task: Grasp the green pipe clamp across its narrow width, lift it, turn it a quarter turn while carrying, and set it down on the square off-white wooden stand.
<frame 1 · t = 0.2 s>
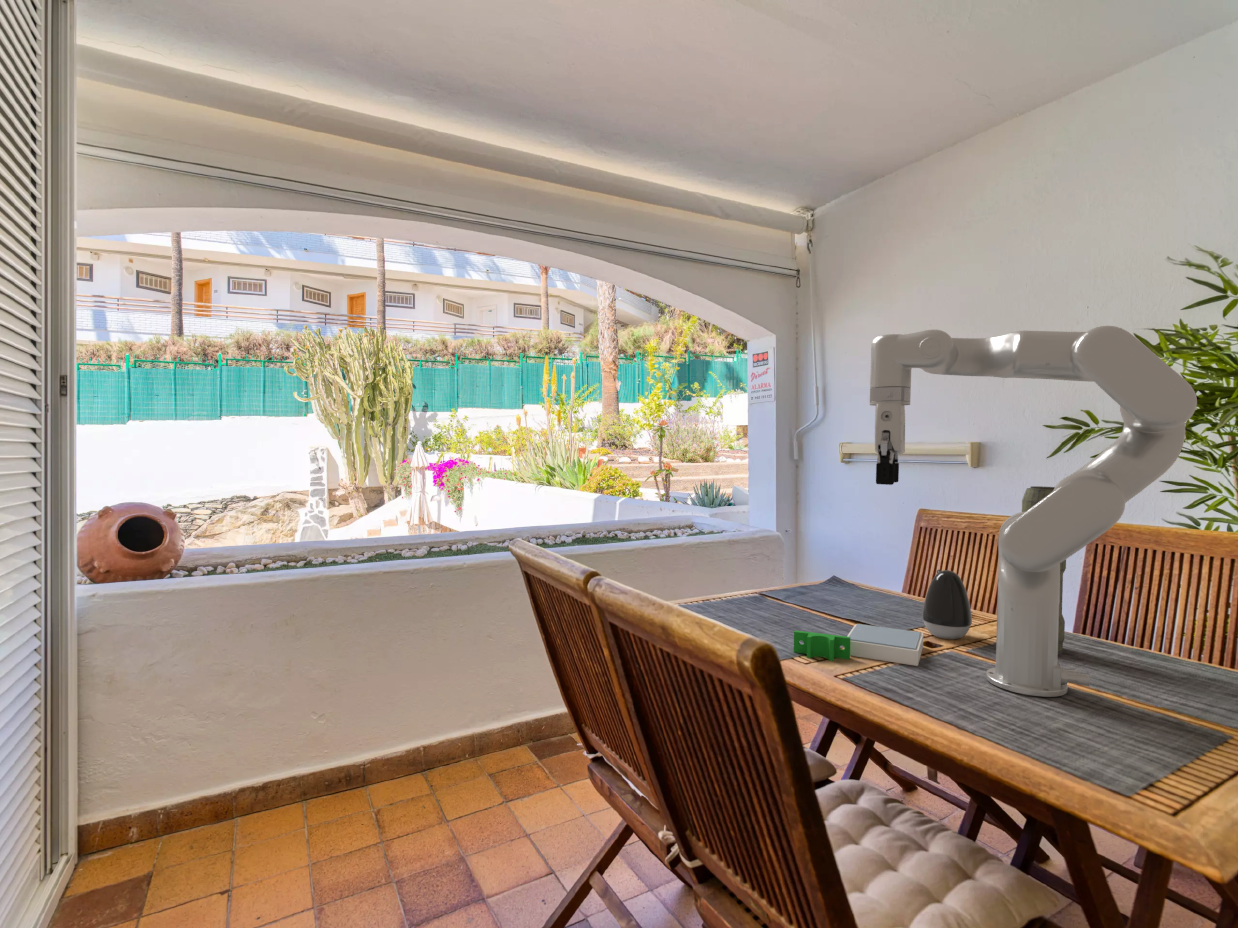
hand: (887, 483, 129), 36 cm above the table, tool pointing down, fingers open, 9 cm apart
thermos: (1039, 649, 139), on the table
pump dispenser: (946, 636, 148), on the table
stand: (884, 650, 137), on the table
pipe clamp: (820, 658, 133), on the table
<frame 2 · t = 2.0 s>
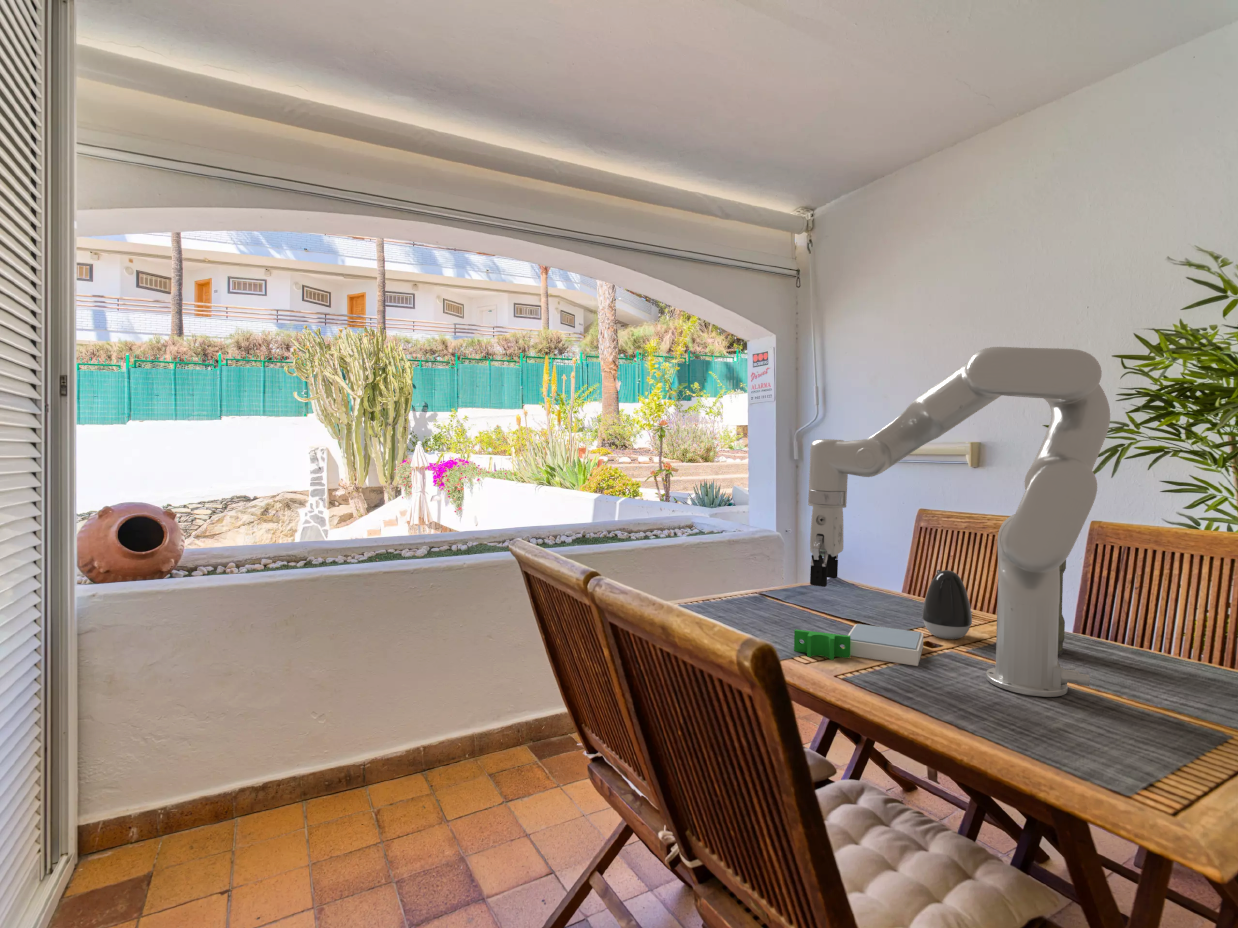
hand: (824, 581, 133), 15 cm above the table, tool pointing down, fingers open, 9 cm apart
nothing on the table moved.
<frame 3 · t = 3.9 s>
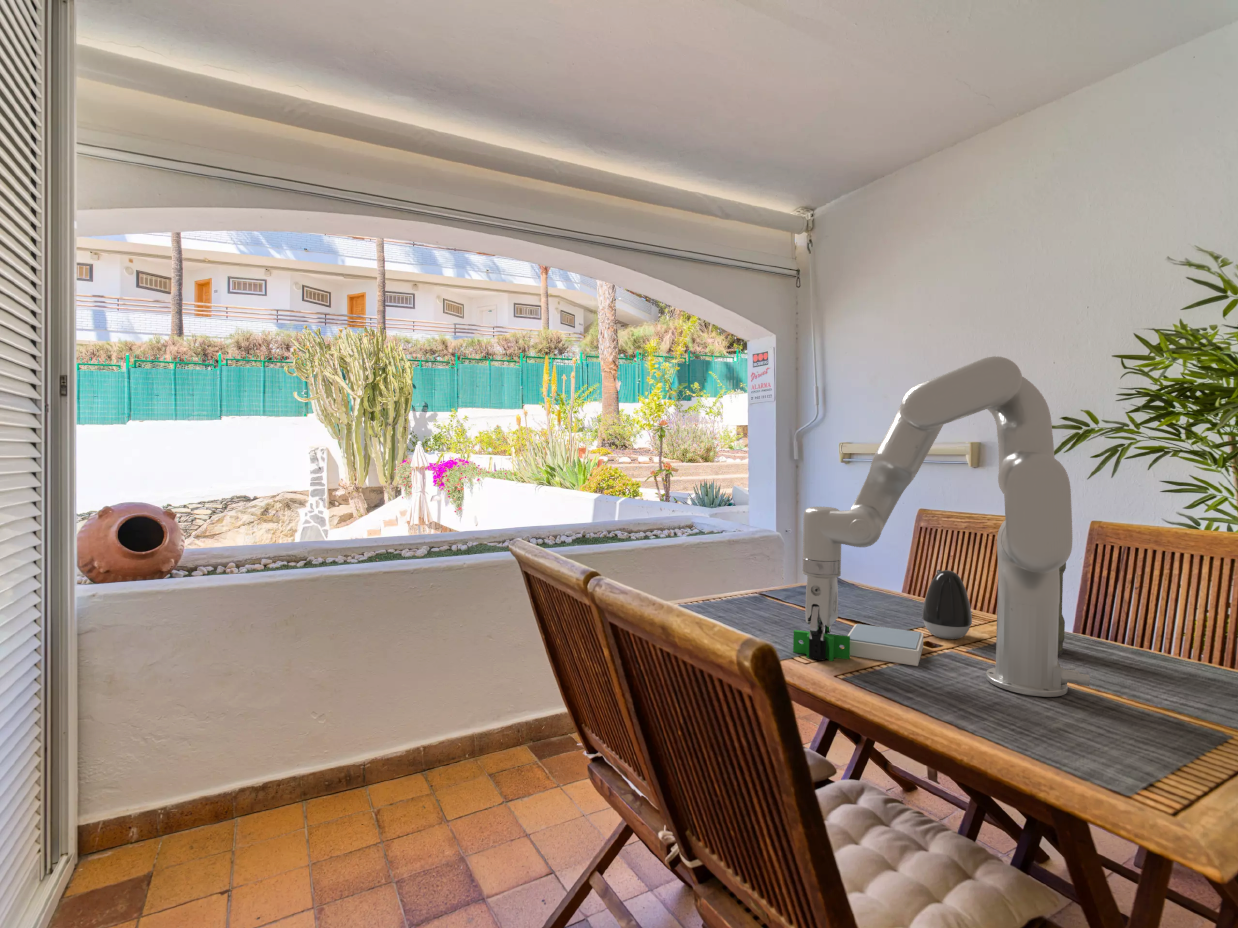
hand: (819, 654, 133), 0 cm above the table, tool pointing down, fingers closed on pipe clamp, 4 cm apart
pipe clamp: (820, 657, 133), on the table, touching gripper
everything else where it was.
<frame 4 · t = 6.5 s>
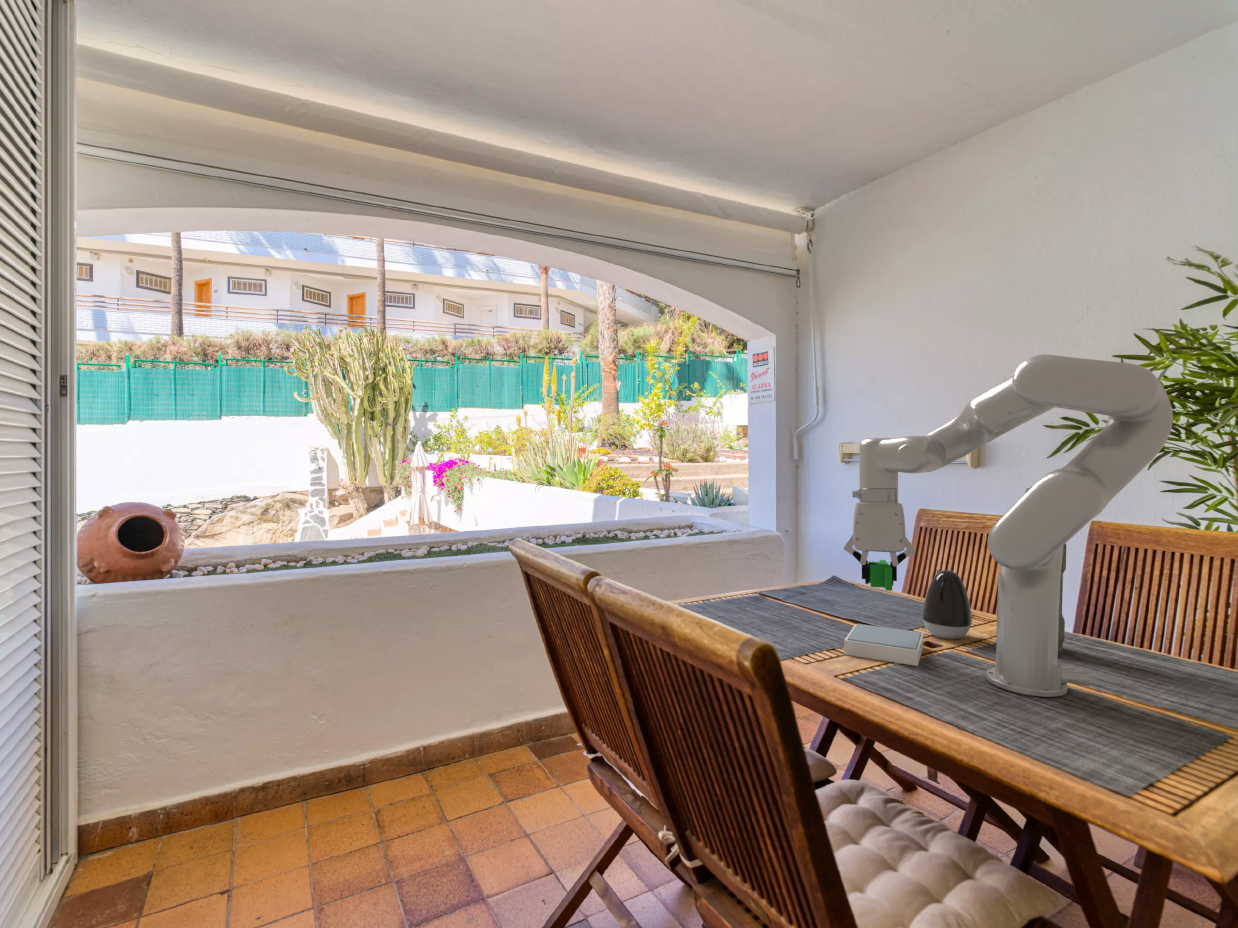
hand: (879, 582, 135), 15 cm above the table, tool pointing down, fingers closed on pipe clamp, 4 cm apart
pipe clamp: (879, 585, 135), point 14 cm above the table, touching gripper
everything else where it was.
when the fingers open (5 cm above the table, at t = 9.0 s): pipe clamp stays where it is, resting on stand.
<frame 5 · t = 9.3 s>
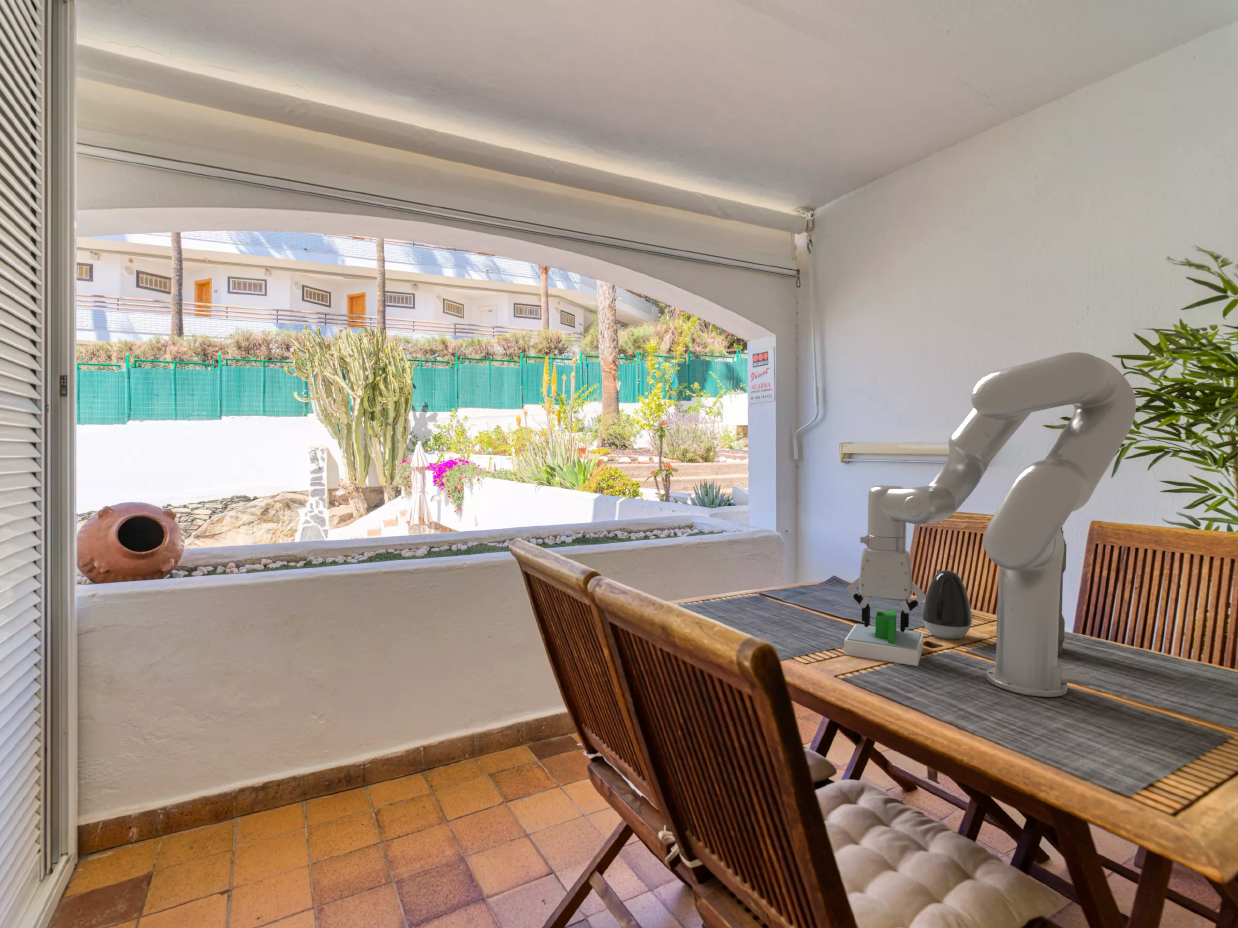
hand: (884, 627, 137), 5 cm above the table, tool pointing down, fingers open, 6 cm apart
pipe clamp: (886, 636, 137), point 3 cm above the table, touching stand
everything else where it was.
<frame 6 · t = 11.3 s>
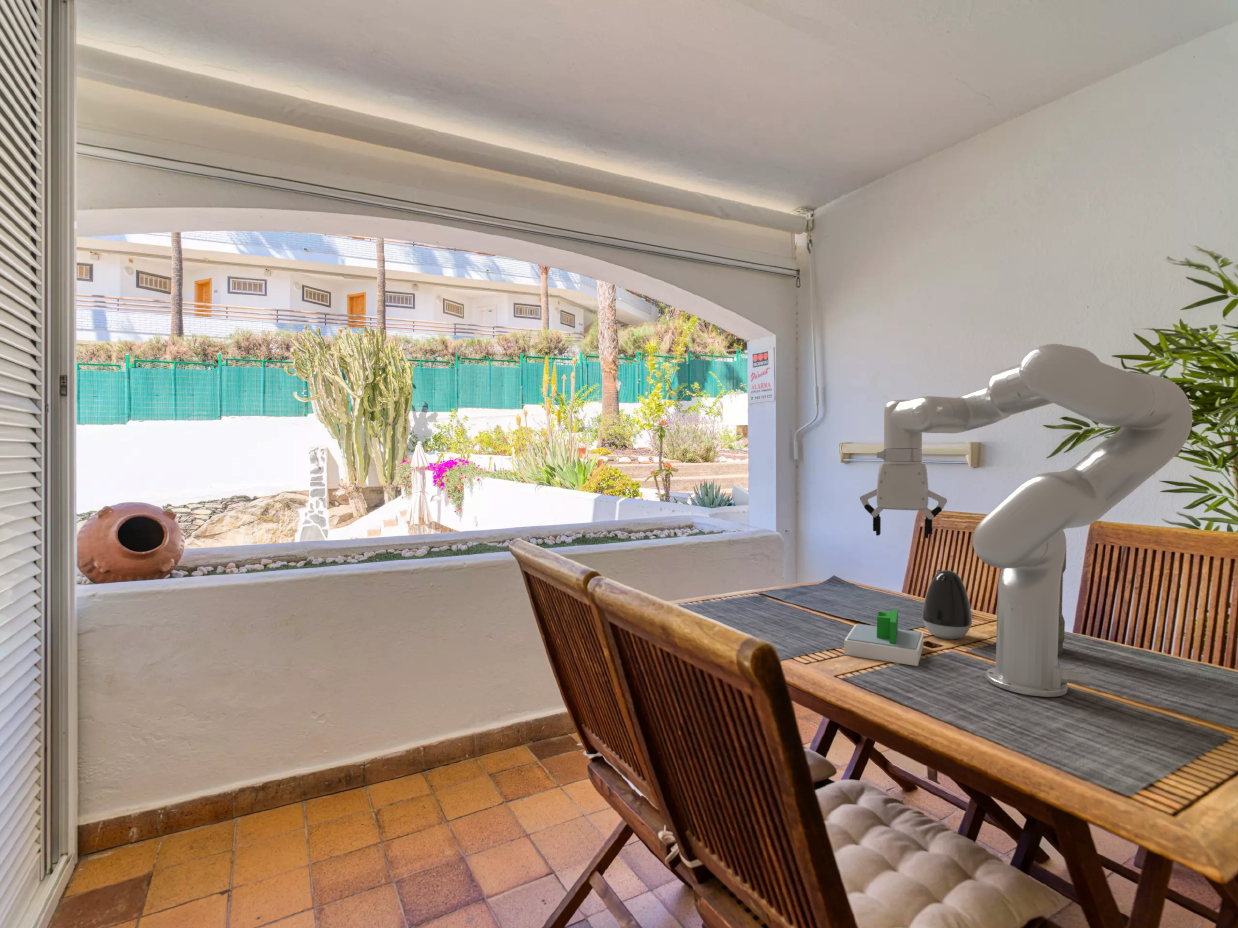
hand: (902, 536, 140), 24 cm above the table, tool pointing down, fingers open, 9 cm apart
nothing on the table moved.
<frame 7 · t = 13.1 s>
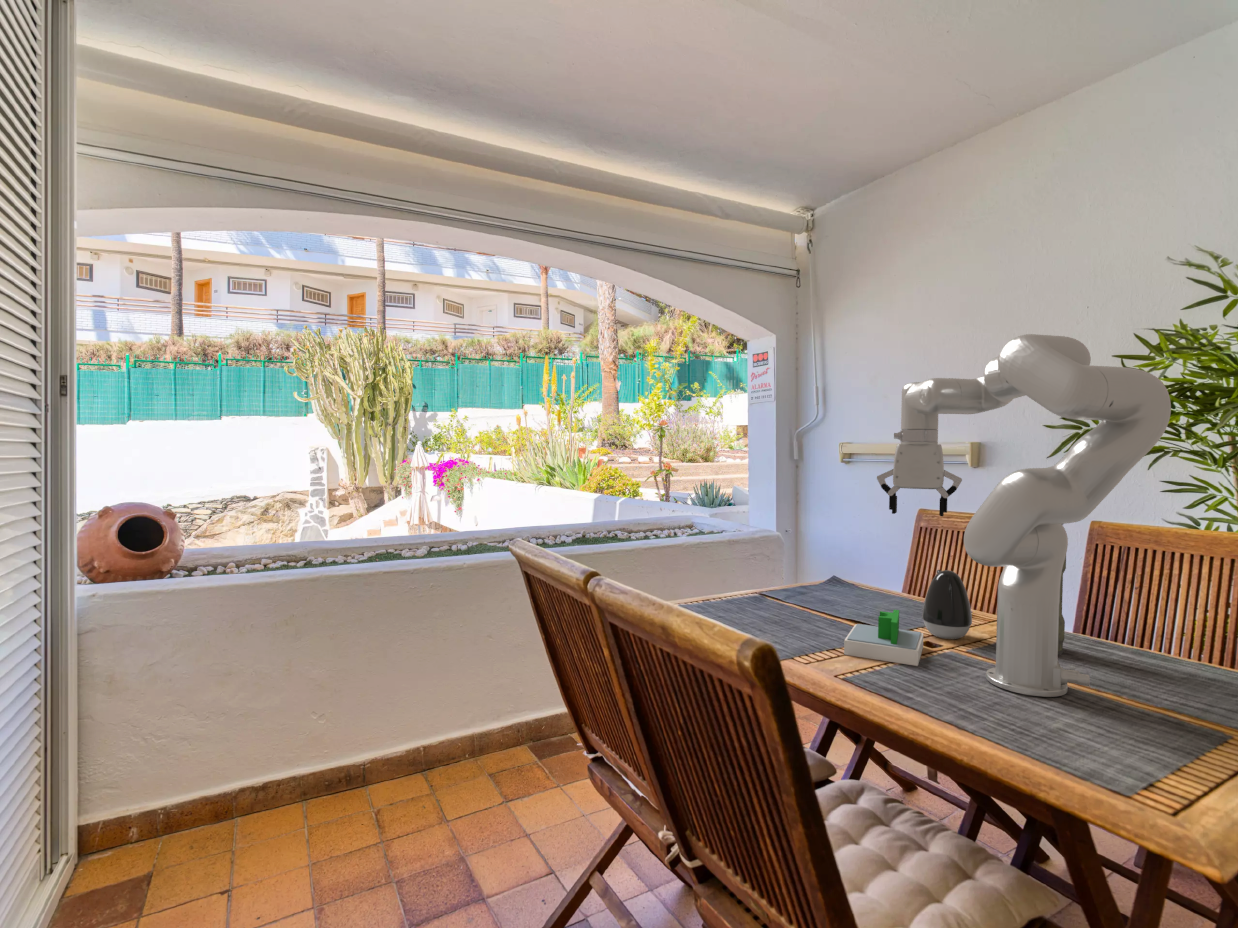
hand: (917, 514, 144), 28 cm above the table, tool pointing down, fingers open, 9 cm apart
nothing on the table moved.
at the end: pipe clamp inside the target area on the stand (0.9 cm from its centre), point 3.1 cm above the stand's base; pipe clamp touching stand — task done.
